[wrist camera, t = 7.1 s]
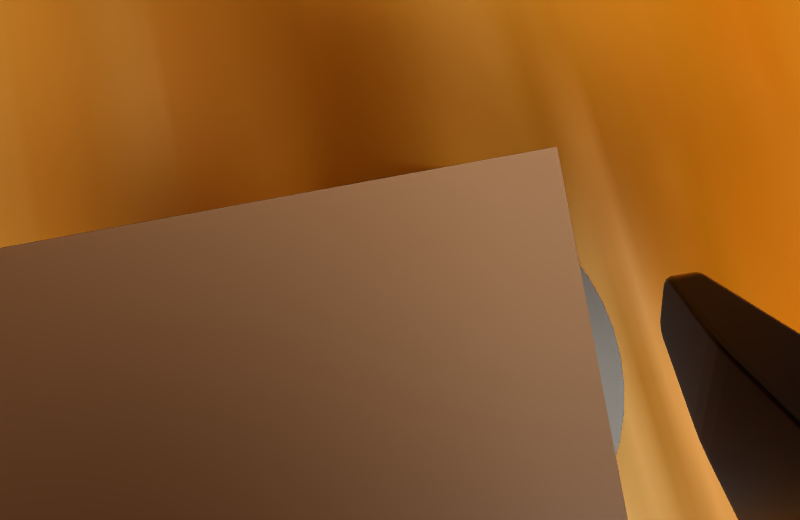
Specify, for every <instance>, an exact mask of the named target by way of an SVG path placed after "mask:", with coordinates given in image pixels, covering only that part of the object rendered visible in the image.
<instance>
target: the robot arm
mask: <svg viewBox="0 0 800 520" xmlns="http://www.w3.org/2000/svg"><path fill="white" fill-rule="evenodd" d="M660 324H661V332H662V336H663V339H664V342H665V345H666V348H667V350H668V353H669V356H670V359H671V362H672V365H673V367H674V370H675V373H676V376H677V379H678V382H679V384H680V387H681V390H682V393H683V396H684V399H685V401H686V404H687V407H688V410H689V413H690V416H691V418H692V421H693V424H694V427H695V429H696V432H697V435H698V437H699V440H700V442H701V444H702V447H703V449H704V451H705V453H706V455H707V458H708V460H709V462H710V464H711V466H712V468H713V470H714V472H715V474H716V476H717V478H718V480H719V482H720V484H721V486H722V488H723V490H724V492H725V494H726V496H727V498H728V500H729V502H730V504H731V506H732V508H733V510H734V512H735V514H736V516H737V518H738V520H800V333H798V332H796V331H795V330H793V329H791V328H790V327H788V326H787V325H785V324H783V323H782V322H780V321H779V320H777V319H775V318H774V317H772V316H770V315H769V314H767V313H766V312H764V311H762V310H761V309H759V308H758V307H756V306H754V305H753V304H751V303H749V302H748V301H746V300H745V299H743V298H741V297H740V296H738V295H736V294H735V293H733V292H732V291H730V290H728V289H727V288H725V287H724V286H722V285H720V284H719V283H717V282H715V281H714V280H712V279H711V278H709V277H707V276H706V275H704V274H702V273H698V272H693V273H687V274H681V275H675V276H671V277H669V278H667V279H666V281H665V283H664V289H663V299H662V309H661V319H660Z"/></svg>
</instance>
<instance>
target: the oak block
mask: <svg viewBox="0 0 800 520" xmlns="http://www.w3.org/2000/svg"><path fill="white" fill-rule="evenodd" d="M0 520H628V519H627V513H626V508H625V503H624V498H623V492H622V487H621V482H620V476H619V471H618V466H617V461H616V455H615V450H614V445H613V439H612V434H611V429H610V424H609V418H608V413H607V408H606V402H605V397H604V392H603V387H602V381H601V376H600V371H599V366H598V360H597V355H596V350H595V344H594V339H593V334H592V329H591V323H590V318H589V313H588V307H587V302H586V297H585V292H584V286H583V281H582V276H581V270H580V265H579V260H578V255H577V249H576V244H575V239H574V234H573V228H572V223H571V218H570V212H569V207H568V202H567V197H566V191H565V186H564V181H563V175H562V170H561V165H560V160H559V154H558V149H557V147H552V148H547V149H541V150H536V151H530V152H525V153H519V154H514V155H508V156H503V157H497V158H492V159H486V160H481V161H475V162H470V163H464V164H459V165H453V166H448V167H442V168H437V169H431V170H426V171H421V172H415V173H410V174H404V175H399V176H393V177H388V178H382V179H377V180H371V181H366V182H360V183H355V184H349V185H344V186H338V187H333V188H327V189H322V190H316V191H311V192H305V193H300V194H294V195H289V196H283V197H278V198H272V199H267V200H261V201H256V202H250V203H245V204H239V205H234V206H228V207H223V208H217V209H212V210H206V211H201V212H195V213H190V214H184V215H179V216H173V217H168V218H162V219H157V220H151V221H146V222H140V223H135V224H129V225H124V226H118V227H113V228H107V229H102V230H96V231H91V232H85V233H80V234H74V235H69V236H63V237H58V238H53V239H47V240H42V241H36V242H31V243H25V244H20V245H14V246H9V247H3V248H0Z"/></svg>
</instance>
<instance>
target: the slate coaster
mask: <svg viewBox="0 0 800 520" xmlns="http://www.w3.org/2000/svg"><path fill="white" fill-rule="evenodd" d="M580 270H581V276H582V281H583V286H584V292H585V297H586V302H587V307H588V313H589V318H590V323H591V329H592V334H593V339H594V344H595V350H596V355H597V360H598V366H599V371H600V376H601V381H602V387H603V392H604V397H605V402H606V408H607V413H608V418H609V424H610V429H611V434H612V439H613V445H614V450H615V455H616V453H617V449H618V446H619V442H620V436H621V429H622V422H623V415H624V380H623V372H622V364H621V356H620V352H619V348H618V344H617V341H616V337H615V333H614V329H613V326H612V324H611V321H610V319H609V316H608V314H607V312H606V309H605V307H604V304H603V302H602V300H601V298H600V297H599V295H598V293H597V291H596V290H595V288H594V286H593V284H592V282H591V281H590V279H589V277H588V276H587V275H586V273H585V272H584V271H583V269H582V268H581V267H580Z"/></svg>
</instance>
